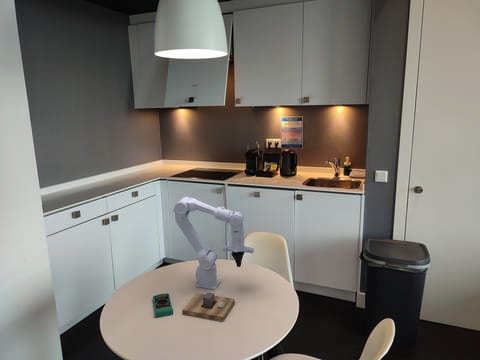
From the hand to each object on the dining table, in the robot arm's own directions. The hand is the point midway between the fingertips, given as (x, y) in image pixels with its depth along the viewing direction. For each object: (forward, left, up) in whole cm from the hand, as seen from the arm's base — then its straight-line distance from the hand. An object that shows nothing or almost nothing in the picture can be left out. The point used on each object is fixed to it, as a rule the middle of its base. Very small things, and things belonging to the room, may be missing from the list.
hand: (239, 266), depth 167 cm
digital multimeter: (-26, -26, -11) cm, 38 cm away
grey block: (-7, -21, -11) cm, 24 cm away
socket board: (-7, -21, -10) cm, 24 cm away
